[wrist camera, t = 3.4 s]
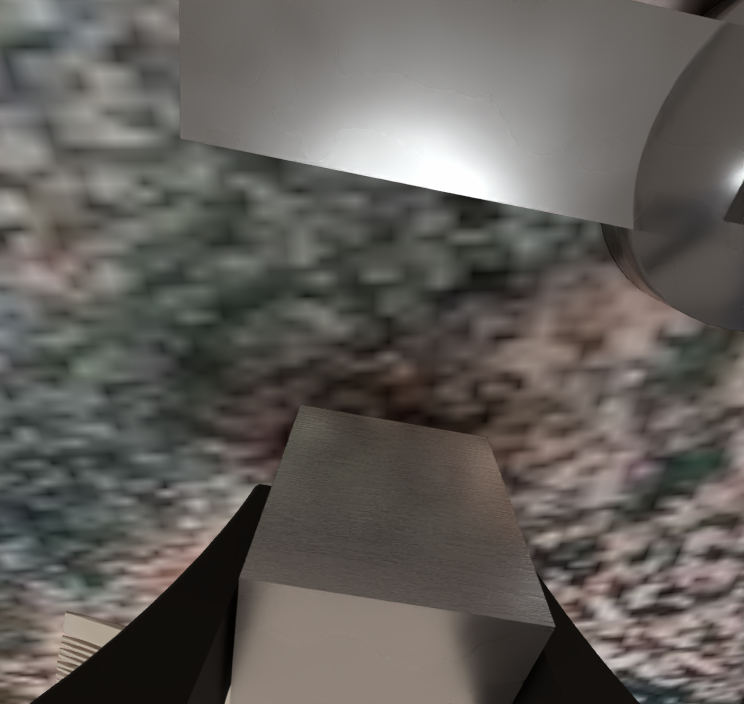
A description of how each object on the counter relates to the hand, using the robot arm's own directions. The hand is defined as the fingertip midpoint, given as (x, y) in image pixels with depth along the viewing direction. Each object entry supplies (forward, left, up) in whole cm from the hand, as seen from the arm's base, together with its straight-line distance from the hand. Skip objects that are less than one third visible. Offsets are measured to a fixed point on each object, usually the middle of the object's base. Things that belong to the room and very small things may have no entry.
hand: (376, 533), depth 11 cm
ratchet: (-3, -10, -3) cm, 11 cm away
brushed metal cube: (0, 0, -1) cm, 1 cm away
